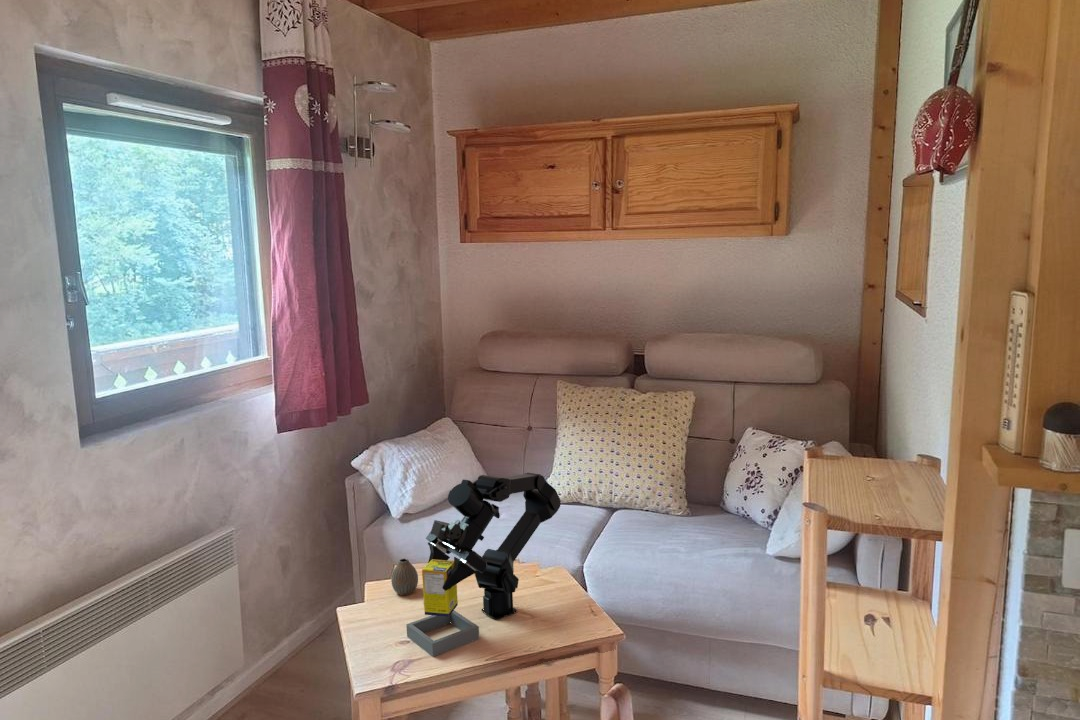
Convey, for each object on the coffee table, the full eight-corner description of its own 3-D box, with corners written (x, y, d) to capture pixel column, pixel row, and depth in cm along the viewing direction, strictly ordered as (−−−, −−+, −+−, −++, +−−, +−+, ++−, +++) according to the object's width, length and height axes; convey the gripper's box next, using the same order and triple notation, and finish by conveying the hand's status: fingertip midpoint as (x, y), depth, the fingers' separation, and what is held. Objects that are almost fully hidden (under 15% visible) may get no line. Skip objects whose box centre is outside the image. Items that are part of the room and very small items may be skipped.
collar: (452, 620, 179) (451, 608, 178) (479, 638, 169) (478, 626, 169) (407, 636, 171) (406, 624, 171) (432, 656, 162) (432, 643, 162)
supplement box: (458, 605, 172) (456, 560, 170) (448, 617, 166) (446, 571, 165) (434, 603, 173) (431, 558, 172) (424, 615, 168) (421, 569, 166)
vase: (413, 598, 191) (411, 566, 190) (388, 597, 193) (385, 564, 192) (422, 587, 198) (420, 555, 197) (398, 585, 199) (396, 554, 198)
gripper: (430, 497, 176) (391, 554, 171) (472, 516, 162) (431, 579, 156) (461, 521, 182) (423, 577, 177) (504, 542, 167) (465, 603, 162)
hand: (434, 583), depth 168 cm, fingers closed on supplement box, 8 cm apart
